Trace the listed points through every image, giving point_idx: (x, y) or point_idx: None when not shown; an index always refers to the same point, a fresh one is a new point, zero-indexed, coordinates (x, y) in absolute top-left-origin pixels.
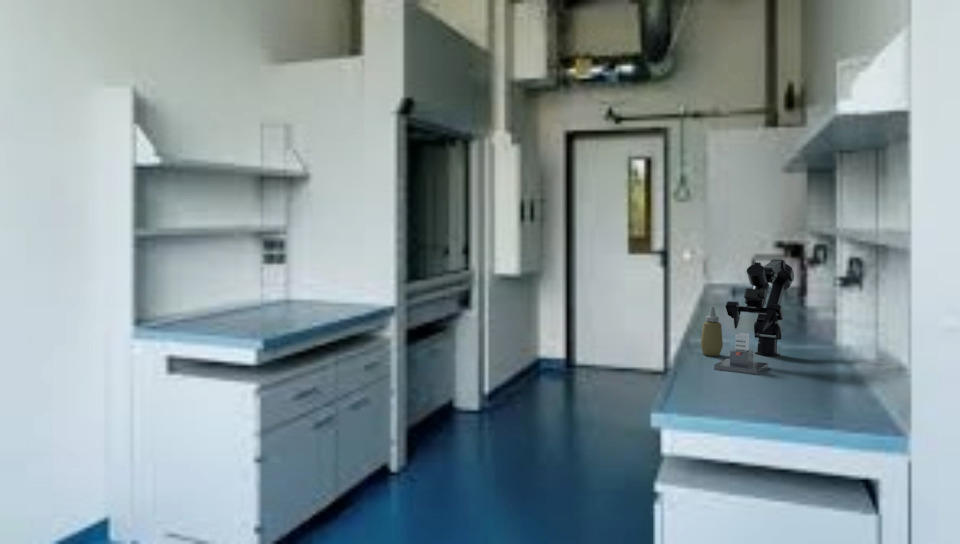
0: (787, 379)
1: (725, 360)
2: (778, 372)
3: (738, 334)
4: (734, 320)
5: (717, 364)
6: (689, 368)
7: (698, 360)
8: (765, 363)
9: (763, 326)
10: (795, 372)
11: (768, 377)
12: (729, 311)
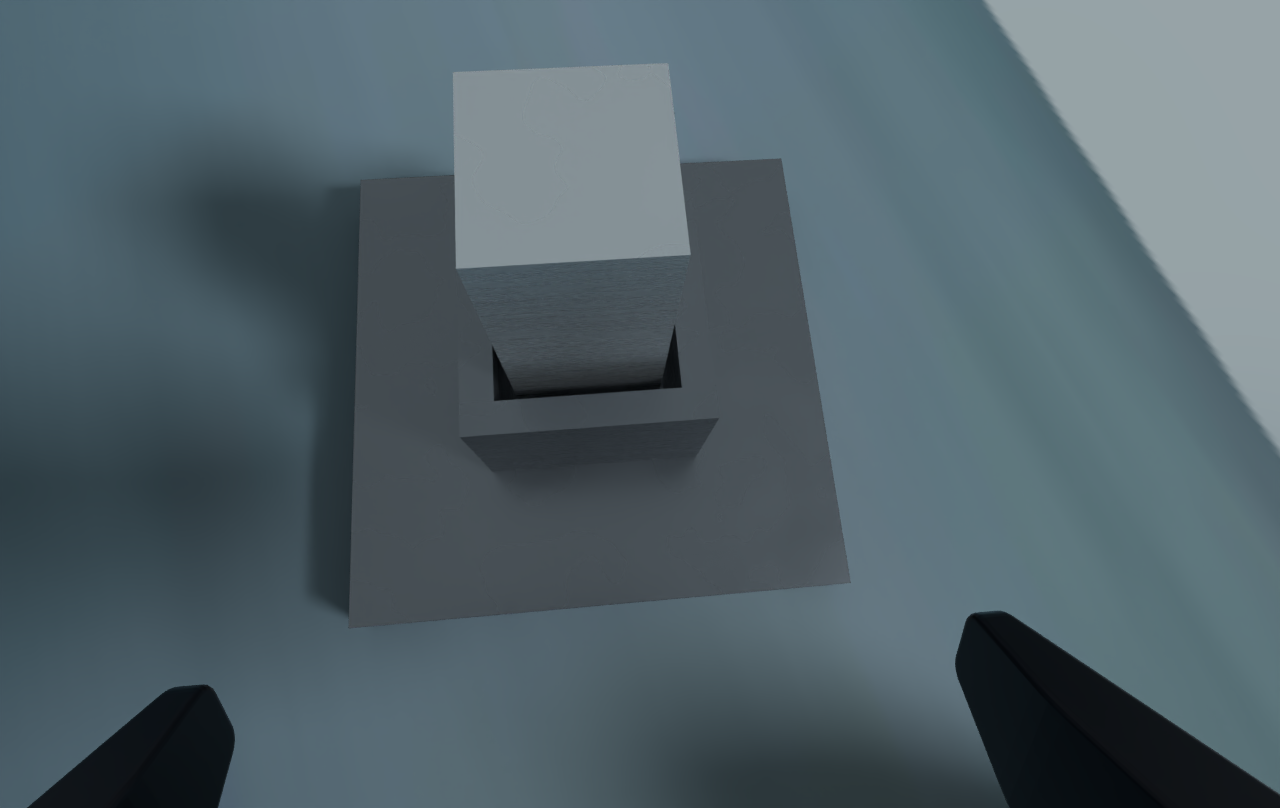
0: (86, 169)
1: (809, 454)
2: (214, 432)
3: (608, 68)
4: (1220, 769)
5: (765, 190)
6: (943, 92)
7: (1123, 514)
8: (374, 588)
9: (105, 766)
10: (46, 557)
11: (254, 149)
12: None
